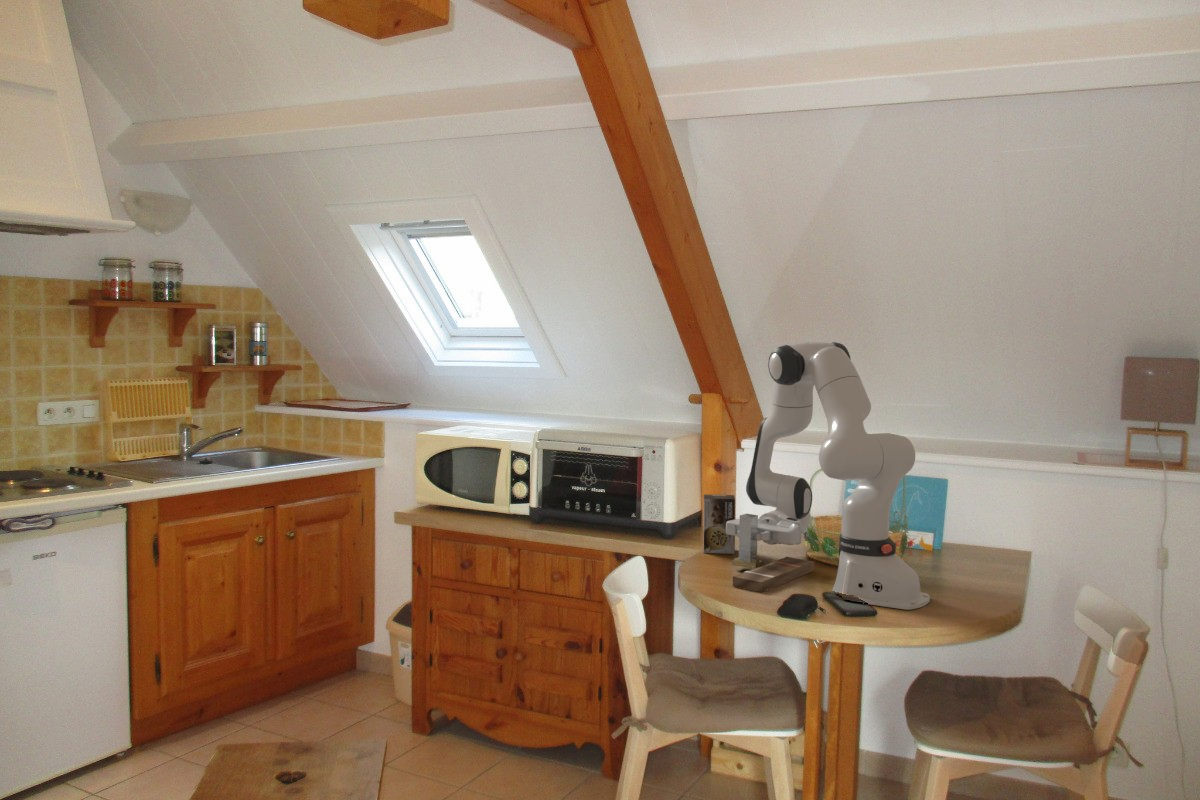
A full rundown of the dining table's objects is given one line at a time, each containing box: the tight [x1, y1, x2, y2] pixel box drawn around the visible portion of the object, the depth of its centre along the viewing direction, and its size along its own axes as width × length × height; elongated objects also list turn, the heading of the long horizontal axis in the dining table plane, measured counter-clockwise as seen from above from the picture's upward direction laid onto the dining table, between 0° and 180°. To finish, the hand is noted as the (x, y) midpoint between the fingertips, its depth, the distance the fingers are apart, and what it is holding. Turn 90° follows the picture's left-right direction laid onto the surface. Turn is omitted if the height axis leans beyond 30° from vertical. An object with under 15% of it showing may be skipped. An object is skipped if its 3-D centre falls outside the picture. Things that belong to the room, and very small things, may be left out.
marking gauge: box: [731, 513, 764, 570], centre depth 246 cm, size 7×4×14 cm, turn 51°
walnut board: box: [732, 556, 815, 593], centre depth 240 cm, size 8×28×3 cm, turn 141°
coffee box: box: [702, 494, 736, 555], centre depth 269 cm, size 9×6×16 cm
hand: (747, 536), depth 246 cm, fingers closed on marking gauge, 3 cm apart
